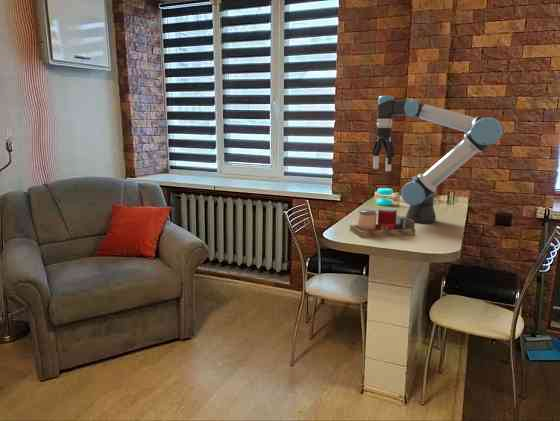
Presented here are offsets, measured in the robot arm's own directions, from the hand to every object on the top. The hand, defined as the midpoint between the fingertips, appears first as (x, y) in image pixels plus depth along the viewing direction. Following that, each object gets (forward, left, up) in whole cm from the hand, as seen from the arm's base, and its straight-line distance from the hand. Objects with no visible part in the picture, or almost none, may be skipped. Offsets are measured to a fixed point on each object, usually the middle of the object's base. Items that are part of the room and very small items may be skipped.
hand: (381, 169), depth 222 cm
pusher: (+2, +29, -25) cm, 39 cm away
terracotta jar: (+19, +29, -26) cm, 43 cm away
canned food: (+10, +29, -26) cm, 40 cm away
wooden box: (+12, +29, -27) cm, 41 cm away
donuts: (-24, -45, -27) cm, 58 cm away
